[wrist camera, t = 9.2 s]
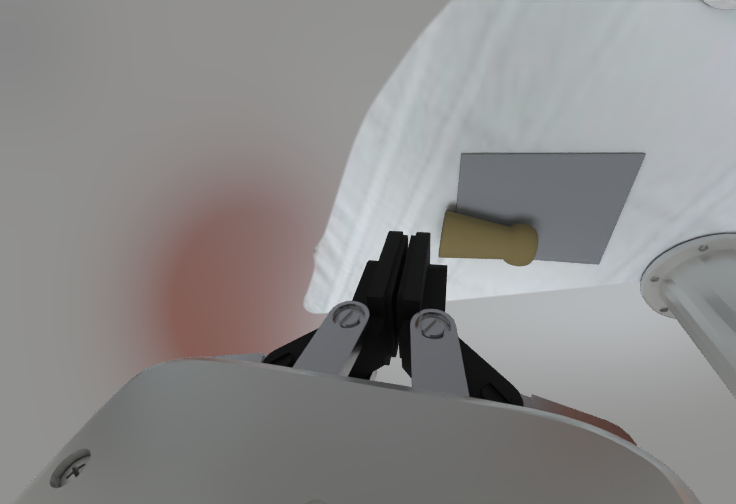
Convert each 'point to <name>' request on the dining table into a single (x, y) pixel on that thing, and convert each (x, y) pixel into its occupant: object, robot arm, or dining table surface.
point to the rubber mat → (551, 197)
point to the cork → (487, 240)
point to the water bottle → (722, 4)
